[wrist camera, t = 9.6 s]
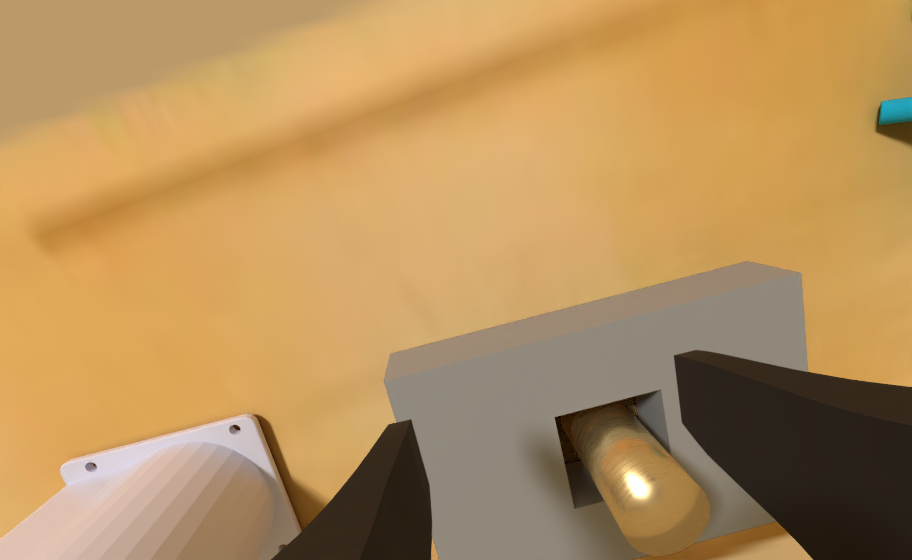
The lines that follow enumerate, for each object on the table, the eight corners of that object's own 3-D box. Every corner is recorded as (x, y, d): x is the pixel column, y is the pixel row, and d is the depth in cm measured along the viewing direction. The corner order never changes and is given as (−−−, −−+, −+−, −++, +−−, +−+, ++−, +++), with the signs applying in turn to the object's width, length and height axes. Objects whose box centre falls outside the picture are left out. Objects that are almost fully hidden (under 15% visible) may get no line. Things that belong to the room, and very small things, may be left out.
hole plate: (451, 553, 23) (454, 607, 20) (390, 354, 20) (384, 381, 17) (768, 469, 23) (817, 510, 20) (747, 261, 20) (801, 273, 17)
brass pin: (567, 449, 22) (629, 565, 15) (555, 395, 21) (615, 491, 14) (625, 433, 22) (714, 542, 15) (615, 379, 21) (704, 467, 14)
